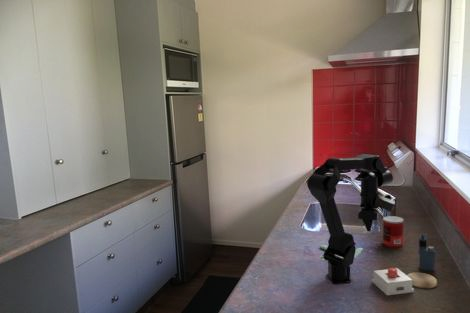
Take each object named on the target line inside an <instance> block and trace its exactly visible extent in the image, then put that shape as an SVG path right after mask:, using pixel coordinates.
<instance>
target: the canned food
mask: <svg viewBox="0 0 470 313" xmlns="http://www.w3.org/2000/svg"><path fill="white" fill-rule="evenodd" d="M404 224H405V222H404V218H402V217H400V216H396V215H395V216H393V215H389V216H384V217H383V219H382V244H383V245H384V246H386V247H388V248H401V247H402V246H403V244H404Z"/></svg>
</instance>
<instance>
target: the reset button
mask: <svg viewBox="0 0 470 313" xmlns="http://www.w3.org/2000/svg"><path fill="white" fill-rule="evenodd" d="M395 268H396V267H389V268H387V269H388V277H389V278H397V269H395Z"/></svg>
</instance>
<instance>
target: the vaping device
mask: <svg viewBox="0 0 470 313" xmlns="http://www.w3.org/2000/svg"><path fill="white" fill-rule="evenodd" d="M418 239H419V240H418V255H419V265H418V268H419V269H421V270H425V271H434V270H435V268H436V250H435V247H434V246H432V245H431V246H428V243H427V240H428V239H427V238H426V236H425V235H423V234H422V235H420V237H419V238H418Z"/></svg>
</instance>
